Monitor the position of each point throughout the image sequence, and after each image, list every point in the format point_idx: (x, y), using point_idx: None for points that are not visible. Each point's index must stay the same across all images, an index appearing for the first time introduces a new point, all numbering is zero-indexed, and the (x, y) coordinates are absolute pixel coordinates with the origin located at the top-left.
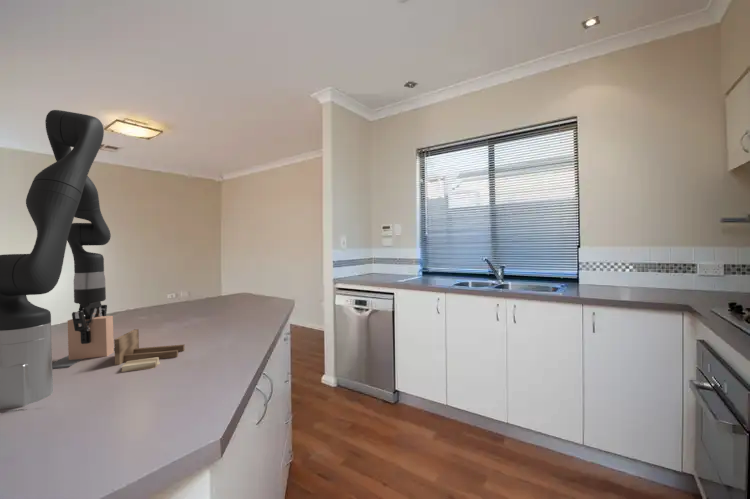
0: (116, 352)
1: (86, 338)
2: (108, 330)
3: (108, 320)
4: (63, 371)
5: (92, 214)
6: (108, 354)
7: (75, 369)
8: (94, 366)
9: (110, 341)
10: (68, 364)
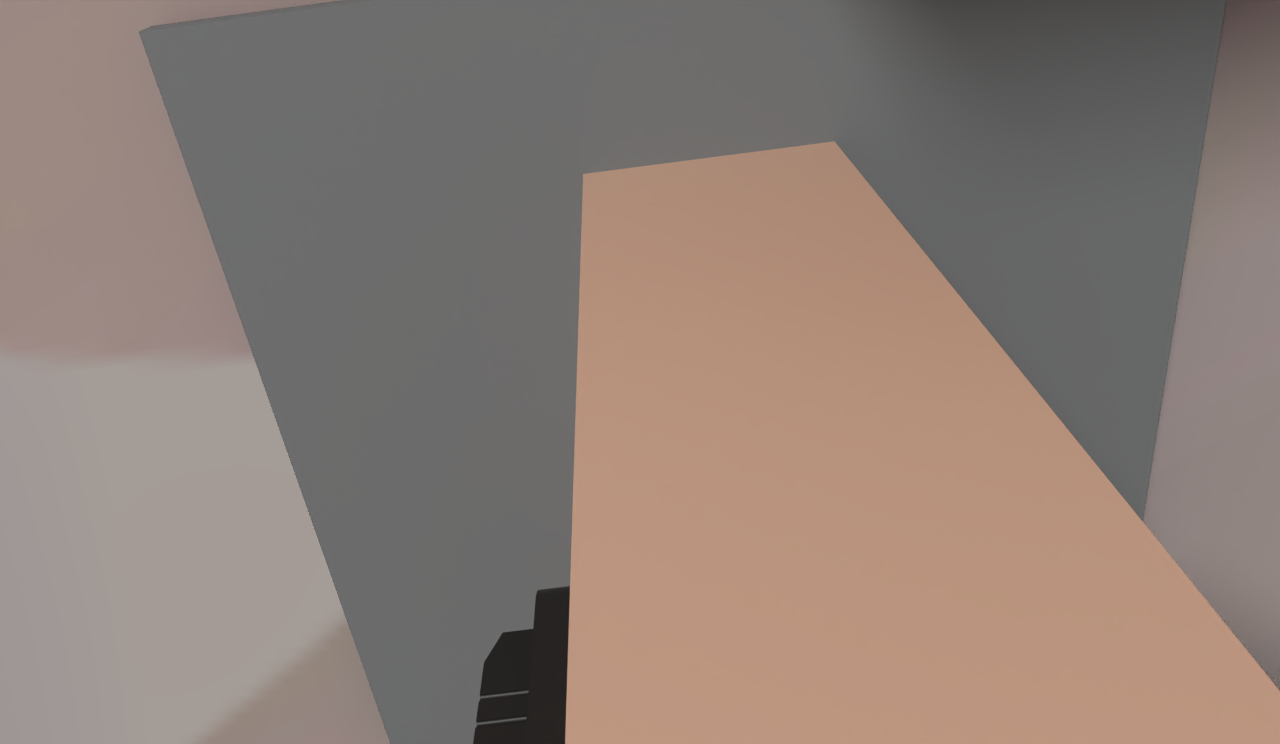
0: None
1: None
2: (884, 405)
3: (1002, 678)
4: (1276, 396)
5: None
6: (782, 155)
7: (1254, 290)
8: (1221, 77)
9: (720, 259)
10: None
